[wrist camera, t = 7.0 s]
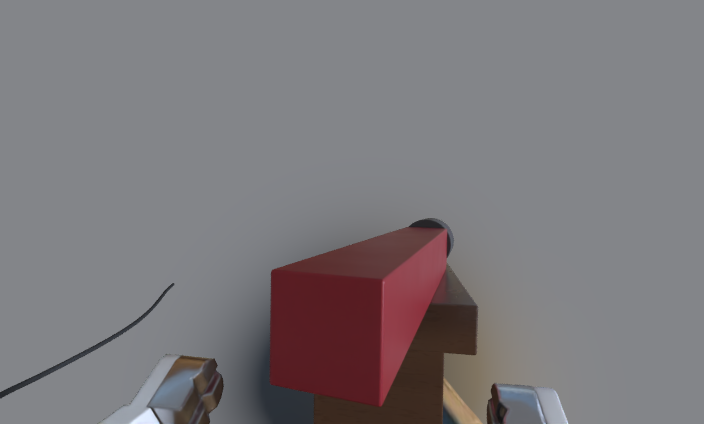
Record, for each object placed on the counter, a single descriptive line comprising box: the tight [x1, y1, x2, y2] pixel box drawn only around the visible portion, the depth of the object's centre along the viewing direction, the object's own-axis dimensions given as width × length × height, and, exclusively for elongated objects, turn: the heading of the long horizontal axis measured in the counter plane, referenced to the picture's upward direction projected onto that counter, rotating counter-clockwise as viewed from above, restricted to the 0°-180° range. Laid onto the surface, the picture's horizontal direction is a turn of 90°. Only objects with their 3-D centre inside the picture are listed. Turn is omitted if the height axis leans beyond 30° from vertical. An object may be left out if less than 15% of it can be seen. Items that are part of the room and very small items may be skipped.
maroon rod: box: [270, 218, 454, 407], centre depth 19 cm, size 22×4×4 cm, turn 161°
